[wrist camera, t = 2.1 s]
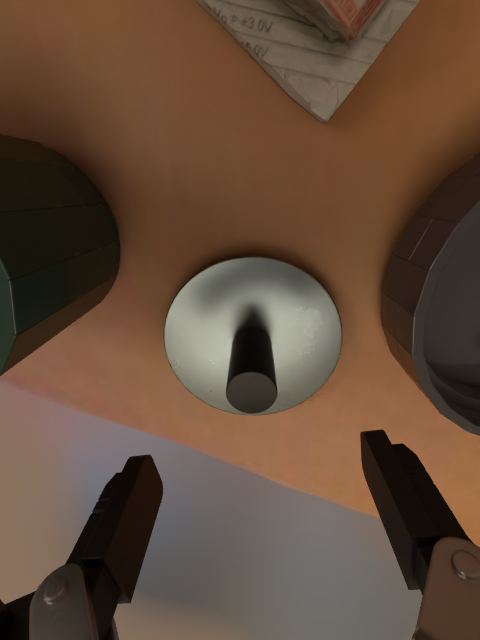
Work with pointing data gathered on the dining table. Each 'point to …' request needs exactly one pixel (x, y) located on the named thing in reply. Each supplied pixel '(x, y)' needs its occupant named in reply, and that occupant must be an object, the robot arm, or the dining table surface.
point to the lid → (253, 335)
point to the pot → (49, 247)
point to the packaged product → (313, 42)
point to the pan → (440, 298)
